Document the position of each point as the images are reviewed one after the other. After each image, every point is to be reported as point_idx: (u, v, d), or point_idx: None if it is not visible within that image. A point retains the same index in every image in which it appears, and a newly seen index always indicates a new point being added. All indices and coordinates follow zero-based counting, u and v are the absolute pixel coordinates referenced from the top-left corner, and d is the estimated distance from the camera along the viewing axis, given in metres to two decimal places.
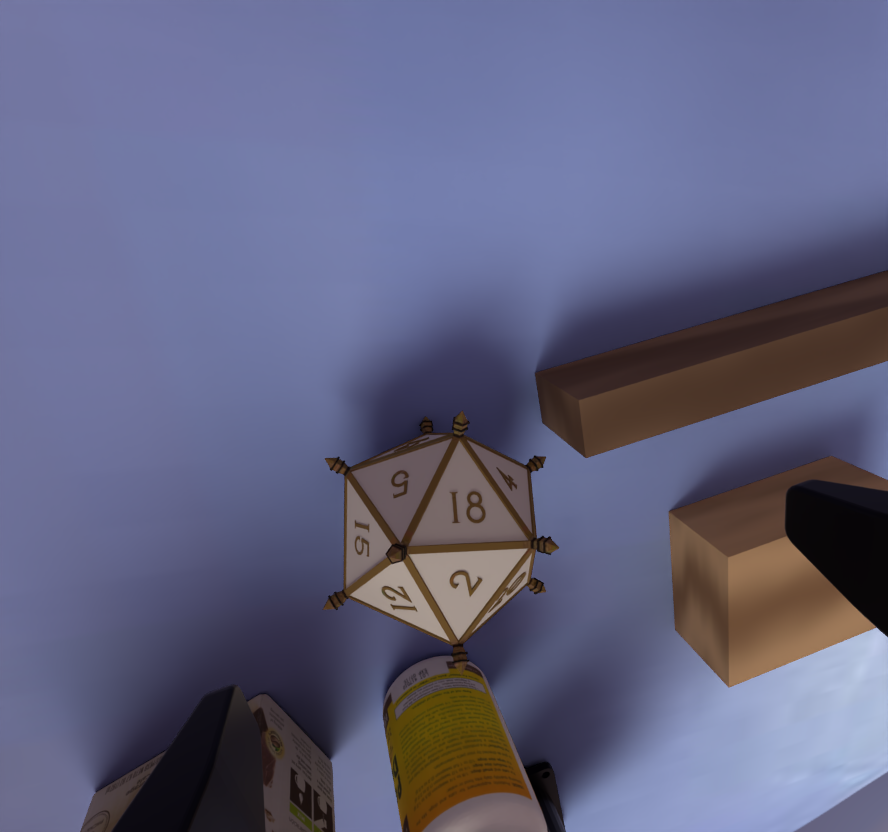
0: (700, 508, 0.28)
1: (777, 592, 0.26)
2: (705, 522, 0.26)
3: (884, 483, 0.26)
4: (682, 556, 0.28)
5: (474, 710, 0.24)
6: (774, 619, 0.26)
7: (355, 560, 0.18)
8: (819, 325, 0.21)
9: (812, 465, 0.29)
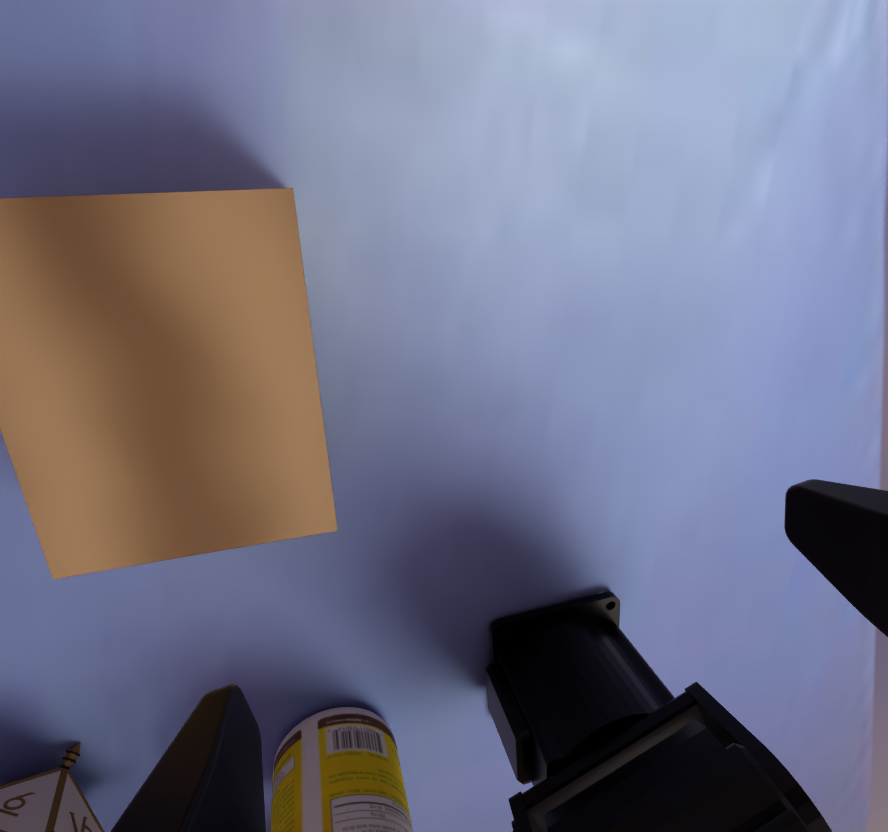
0: None
1: (147, 477, 0.15)
2: None
3: None
4: None
5: (276, 819, 0.21)
6: (209, 474, 0.16)
7: None
8: None
9: None
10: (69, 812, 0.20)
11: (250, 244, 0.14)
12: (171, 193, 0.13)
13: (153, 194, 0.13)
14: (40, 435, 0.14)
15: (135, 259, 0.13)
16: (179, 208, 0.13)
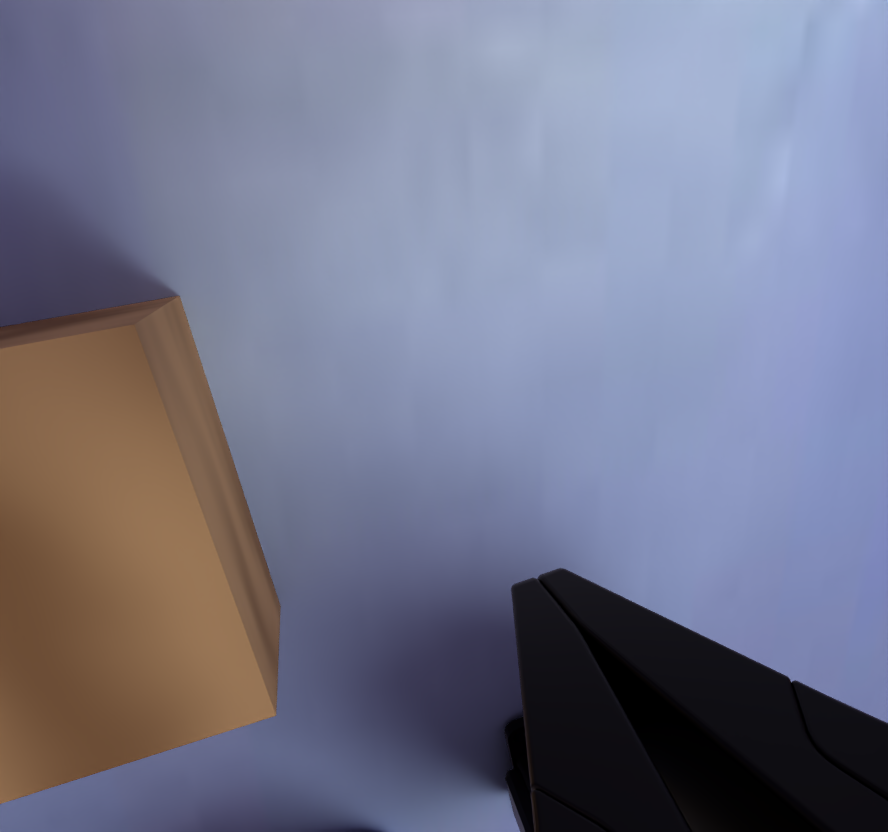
0: None
1: (11, 700, 0.12)
2: None
3: None
4: None
5: None
6: (94, 682, 0.12)
7: None
8: None
9: None
10: None
11: (88, 404, 0.10)
12: None
13: None
14: None
15: None
16: None
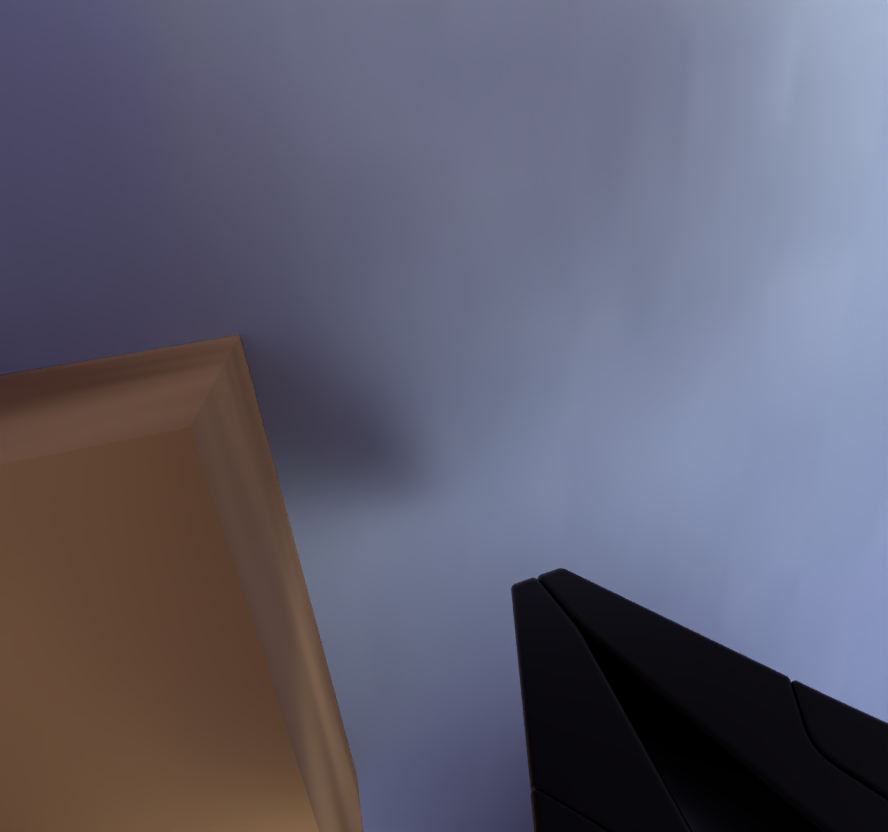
0: None
1: None
2: None
3: None
4: None
5: None
6: None
7: None
8: None
9: None
10: None
11: (87, 588, 0.05)
12: None
13: None
14: None
15: None
16: None
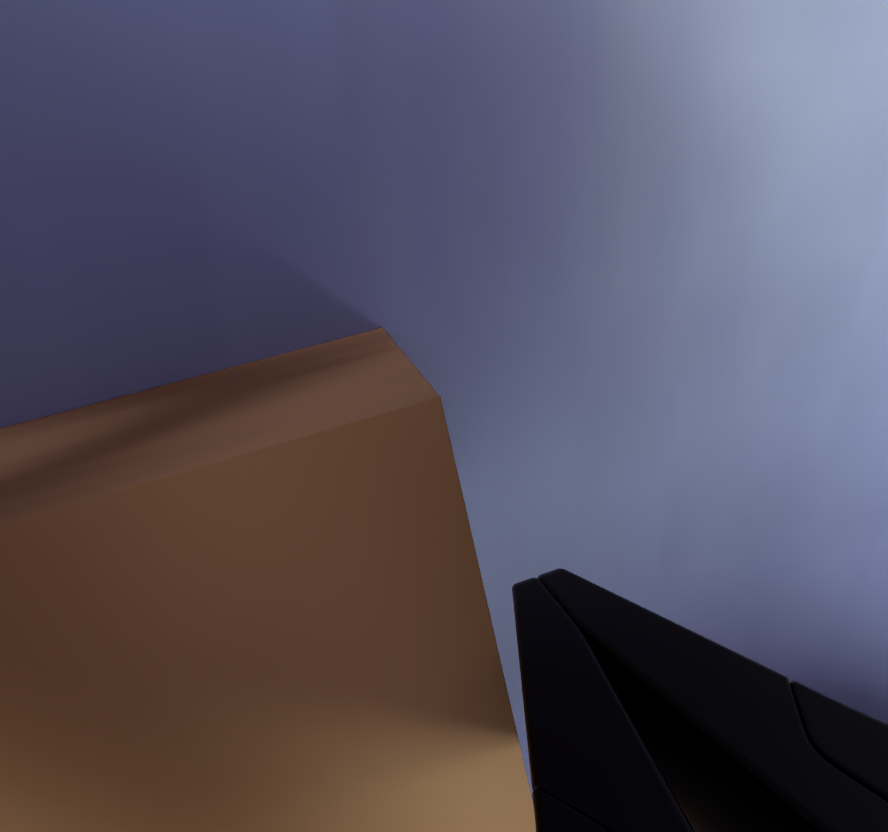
0: None
1: None
2: None
3: None
4: None
5: None
6: None
7: None
8: None
9: None
10: None
11: (353, 542, 0.06)
12: (143, 486, 0.05)
13: (97, 501, 0.05)
14: None
15: (85, 650, 0.05)
16: (170, 512, 0.05)
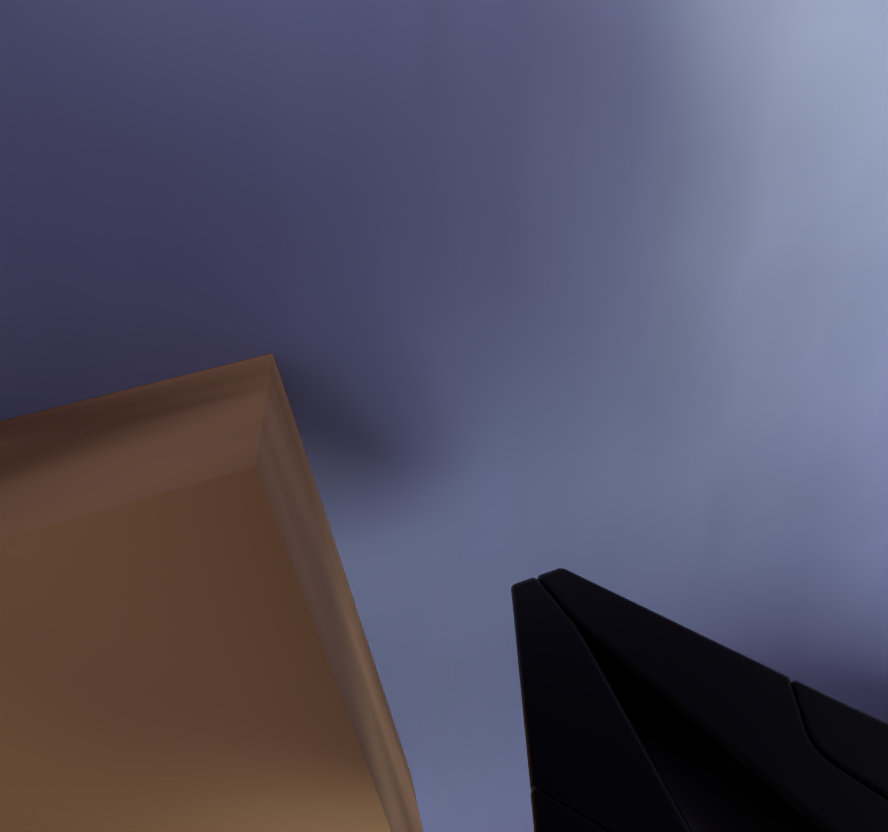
0: None
1: None
2: None
3: None
4: None
5: None
6: None
7: None
8: None
9: None
10: None
11: (163, 630, 0.05)
12: None
13: None
14: None
15: None
16: None
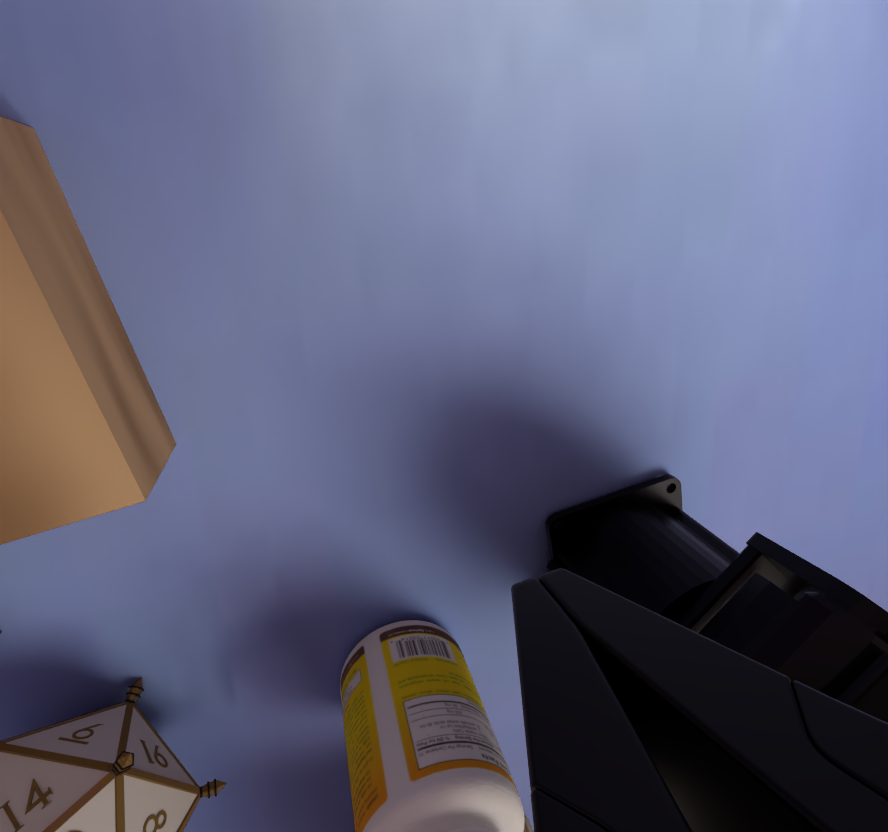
0: None
1: None
2: None
3: None
4: None
5: (349, 730, 0.20)
6: None
7: None
8: None
9: None
10: (139, 740, 0.19)
11: None
12: None
13: None
14: None
15: None
16: None
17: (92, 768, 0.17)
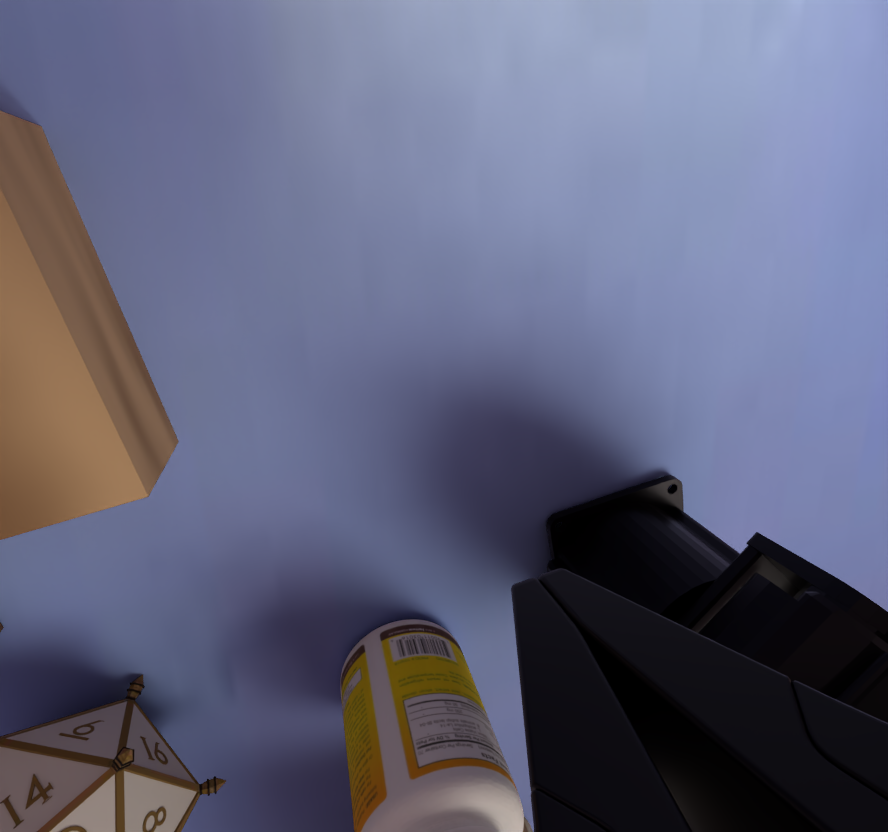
0: None
1: None
2: None
3: None
4: None
5: (349, 728, 0.20)
6: None
7: None
8: None
9: None
10: (140, 737, 0.19)
11: None
12: None
13: None
14: None
15: None
16: None
17: (92, 764, 0.17)
